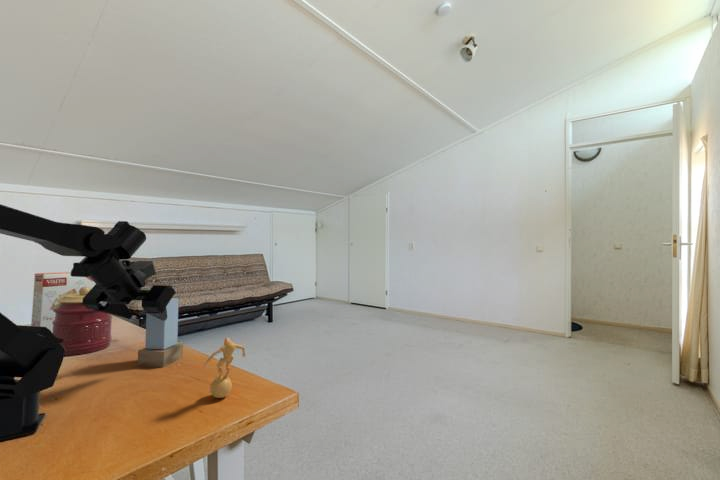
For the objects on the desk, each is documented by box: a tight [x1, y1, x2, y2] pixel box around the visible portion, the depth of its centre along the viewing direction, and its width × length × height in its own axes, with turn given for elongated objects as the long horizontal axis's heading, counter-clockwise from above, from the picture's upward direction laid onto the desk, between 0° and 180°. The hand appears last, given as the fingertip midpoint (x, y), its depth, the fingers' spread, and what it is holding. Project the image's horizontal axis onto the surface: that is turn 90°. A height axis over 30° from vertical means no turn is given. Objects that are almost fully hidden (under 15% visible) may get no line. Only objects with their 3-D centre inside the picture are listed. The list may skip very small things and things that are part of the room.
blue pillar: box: [144, 297, 179, 349], centre depth 83 cm, size 5×5×12 cm
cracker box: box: [30, 271, 96, 333], centre depth 100 cm, size 14×6×21 cm, turn 155°
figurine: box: [203, 337, 246, 399], centre depth 63 cm, size 8×6×12 cm
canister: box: [52, 287, 113, 356], centre depth 91 cm, size 13×13×18 cm
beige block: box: [137, 342, 184, 368], centre depth 82 cm, size 7×7×4 cm
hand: (148, 318), depth 78 cm, fingers open, 9 cm apart
